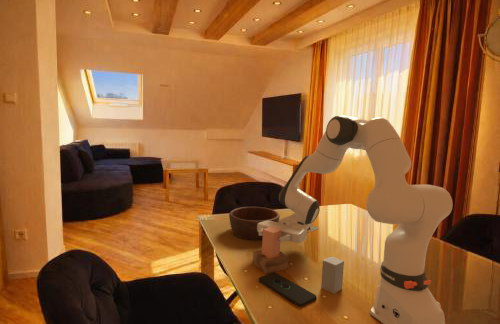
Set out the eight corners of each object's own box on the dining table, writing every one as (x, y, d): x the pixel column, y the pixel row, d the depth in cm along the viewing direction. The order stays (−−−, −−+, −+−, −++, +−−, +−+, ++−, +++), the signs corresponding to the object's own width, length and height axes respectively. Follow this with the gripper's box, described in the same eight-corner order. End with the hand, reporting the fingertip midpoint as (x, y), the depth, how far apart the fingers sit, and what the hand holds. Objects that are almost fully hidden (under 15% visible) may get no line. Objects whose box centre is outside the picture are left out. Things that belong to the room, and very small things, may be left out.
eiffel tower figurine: (304, 235, 161) (305, 209, 159) (289, 229, 168) (290, 204, 167) (322, 228, 171) (323, 204, 169) (307, 223, 178) (308, 200, 176)
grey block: (342, 288, 109) (344, 261, 108) (333, 293, 106) (335, 265, 104) (329, 283, 113) (331, 256, 111) (321, 287, 109) (322, 260, 108)
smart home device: (274, 271, 118) (317, 295, 102) (274, 275, 118) (317, 300, 102) (257, 277, 112) (300, 304, 97) (257, 282, 113) (299, 309, 97)
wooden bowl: (218, 231, 161) (219, 211, 160) (255, 221, 178) (255, 203, 176) (251, 247, 143) (252, 224, 141) (289, 234, 159) (290, 214, 158)
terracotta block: (279, 253, 124) (281, 229, 123) (272, 258, 121) (273, 233, 119) (268, 249, 127) (270, 226, 126) (261, 253, 124) (263, 229, 122)
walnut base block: (287, 269, 123) (288, 256, 122) (265, 274, 118) (266, 261, 118) (274, 259, 132) (274, 247, 131) (252, 263, 127) (253, 251, 126)
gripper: (268, 215, 139) (248, 222, 128) (310, 225, 127) (293, 234, 116) (267, 229, 140) (248, 237, 129) (309, 240, 128) (292, 251, 117)
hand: (270, 236), depth 123 cm, fingers open, 8 cm apart
